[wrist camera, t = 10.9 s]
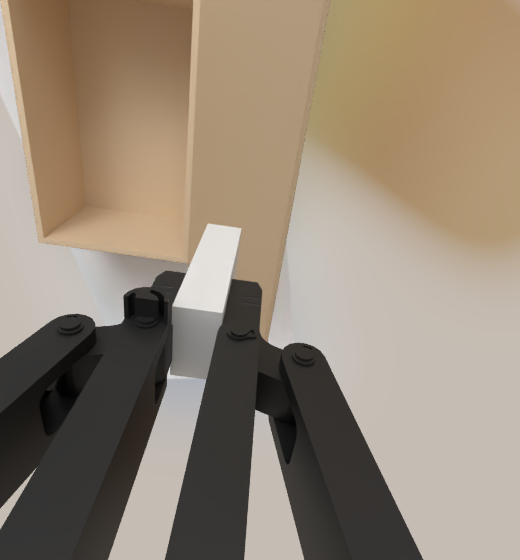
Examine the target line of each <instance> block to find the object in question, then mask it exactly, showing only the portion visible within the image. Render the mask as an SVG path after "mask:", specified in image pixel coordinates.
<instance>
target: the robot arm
mask: <svg viewBox="0 0 520 560" xmlns="http://www.w3.org/2000/svg"><path fill="white" fill-rule="evenodd" d="M241 229H242V228H236V227H229V226H222V225H215V224H207V227H206V229H205V231H204V234H203V236H202V238H201V241H200V243H199V245H198V247H197V250H196V252H195V254H194V257H193V259H192V261H191V264H190V266H189V268H188V271H187V273H180V272H173V271H165V272H163V273H162V274H160V275H159V276H157V277H156V279H155V281H154V283H153V286H151V287H142V288H136V289H133V290H131V291H128V292H127V293H126V294H125V295H124V317H125V319H124V320H123V322H122V324H118V325H113V326H102V327H95V322H94V321H93V319H92V318H90V317H88V316H86V315H80V314H70V315H64V316H60V317H58V318H56V319H54V320H52V321H50V322H49V323H48V324H46V325H45V326H44V327H42V328H41V329H40V330H38V331H37V332H35V333H34V334H33V335H31V336H30V337H29V338H27V339H26V340H25V341H24V342H22V343H21V344H19V345H18V346H17V347H15V348H14V349H12V350H11V351H10V352H8V353H7V354H6V355H4V356H3V357H2V358H0V508H1V507H2V506H3V505H4V504H5V502H6V501H7V500H8V499H9V498H10V497H11V496H12V495H13V493H14V492H15V491H16V490H17V489H18V488H19V487H20V485H21V484H22V483H23V482H24V481H25V480H26V479H27V478H28V477H29V475H30V474H31V473H32V472H33V471H34V470H35V469H36V470H35V472H34V474H33V475H32V477H31V479H30V480H29V482H28V484H27V486H26V487H25V489H24V490H23V492H22V494H21V496H20V497H19V499H18V501H17V502H16V504H15V506H14V507H13V509H12V511H11V513H10V514H9V516H8V518H7V520H6V521H5V523H4V524H3V526H2V528H1V529H0V560H108V558H109V555H110V552H111V549H112V546H113V543H114V540H115V537H116V534H117V531H118V528H119V525H120V522H121V519H122V516H123V513H124V510H125V507H126V505H127V502H128V498H129V495H130V493H131V490H132V487H133V484H134V481H135V478H136V475H137V472H138V469H139V466H140V463H141V460H142V457H143V454H144V451H145V448H146V446H147V443H148V440H149V437H150V434H151V431H152V428H153V425H154V422H155V419H156V416H157V413H158V410H159V407H160V404H161V401H162V398H163V396H164V393H165V389H166V386H167V373H168V370H169V367H170V365H171V368H170V375H177V376H185V377H193V378H200V379H207V380H206V384H205V388H204V393H203V398H202V401H201V406H200V410H199V414H198V419H197V423H196V428H195V432H194V436H193V441H192V445H191V449H190V453H189V458H188V462H187V467H186V471H185V475H184V480H183V484H182V488H181V493H180V497H179V501H178V505H177V510H176V514H175V518H174V523H173V527H172V531H171V536H170V540H169V544H168V549H167V553H166V557H165V560H244V553H245V539H246V526H247V512H248V499H249V485H250V471H251V458H252V444H253V430H254V417H255V410H258V411H260V412H262V413H265V414H267V415H269V423H270V427H271V431H272V435H273V438H274V442H275V446H276V450H277V454H278V458H279V462H280V466H281V470H282V474H283V478H284V481H285V486H286V489H287V493H288V497H289V501H290V505H291V509H292V513H293V516H294V520H295V525H296V528H297V532H298V536H299V540H300V544H301V548H302V551H303V556H304V560H423V558H422V556H421V554H420V552H419V550H418V548H417V546H416V544H415V542H414V540H413V538H412V536H411V534H410V532H409V529H408V527H407V525H406V523H405V521H404V519H403V517H402V515H401V513H400V511H399V509H398V507H397V505H396V503H395V500H394V498H393V496H392V494H391V492H390V491H389V488H388V486H387V484H386V482H385V480H384V478H383V476H382V474H381V472H380V470H379V468H378V466H377V463H376V461H375V459H374V457H373V455H372V453H371V451H370V449H369V447H368V445H367V443H366V441H365V439H364V437H363V435H362V433H361V430H360V428H359V426H358V424H357V422H356V420H355V418H354V416H353V414H352V412H351V410H350V408H349V406H348V404H347V402H346V399H345V397H344V395H343V393H342V391H341V389H340V387H339V385H338V383H337V381H336V379H335V377H334V375H333V373H332V371H331V369H330V366H329V365H328V362H327V360H326V358H325V356H324V355H323V354H322V353H321V351H320V350H318V349H317V348H315V347H314V346H311V345H308V344H304V343H293V344H289V345H288V346H286V347H284V349H283V350H282V349H280V348H277V347H275V346H273V345H270V344H269V343H268V342H266V341H265V340H264V339H263V338H262V336H261V334H260V317H261V303H262V289H261V287H260V285H259V284H258V282H251V281H244V280H237V279H236V271H237V263H238V254H239V246H240V238H241ZM37 466H38V467H37Z"/></svg>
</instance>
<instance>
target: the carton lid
mask: <svg viewBox="0 0 520 560" xmlns="http://www.w3.org/2000/svg"><path fill="white" fill-rule="evenodd" d="M329 5H330V0H200V21H199V41H198V61H197V82H196V102H195V122H194V143H193V163H192V183H191V204H190V224H189V244H188V266H190V264H191V261H192V259H193V257H194V254H195V252H196V250H197V247H198V245H199V243H200V241H201V238H202V236H203V234H204V231H205V229H206V227H207V224H215V225H222V226H229V227H236V228H242V229H241V238H240V246H239V254H238V263H237V271H236V279H237V280H244V281H251V282H258V284H259V285H260V287H261V289H262V303H261V317H260V334H261V336H262V338H263V339H264V340H265V341H266V342H268V336H269V331H270V325H271V320H272V314H273V309H274V304H275V298H276V293H277V287H278V282H279V276H280V271H281V266H282V260H283V255H284V249H285V244H286V238H287V233H288V227H289V222H290V216H291V211H292V206H293V200H294V194H295V190H296V184H297V179H298V173H299V168H300V162H301V156H302V151H303V145H304V141H305V135H306V130H307V124H308V119H309V113H310V108H311V102H312V97H313V92H314V86H315V81H316V75H317V70H318V65H319V59H320V54H321V48H322V43H323V37H324V32H325V27H326V21H327V16H328V10H329Z"/></svg>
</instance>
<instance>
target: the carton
mask: <svg viewBox="0 0 520 560" xmlns="http://www.w3.org/2000/svg"><path fill="white" fill-rule="evenodd" d="M0 2H1V8H2V14H3V20H4V27H5V33H6V39H7V46H8V52H9V58H10V65H11V71H12V77H13V83H14V90H15V96H16V102H17V109H18V115H19V121H20V127H21V134H22V140H23V146H24V152H25V159H26V165H27V171H28V178H29V184H30V190H31V196H32V202H33V209H34V216H35V222H36V228H37V234H38V241H39V243H46V244H53V245H60V246H67V247H74V248H81V249H88V250H95V251H103V252H110V253H117V254H124V255H131V256H138V257H145V258H152V259H159V260H166V261H173V262H181V263H188V244H189V224H190V204H191V183H192V163H193V143H194V122H195V102H196V82H197V61H198V41H199V21H200V0H0Z"/></svg>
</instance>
